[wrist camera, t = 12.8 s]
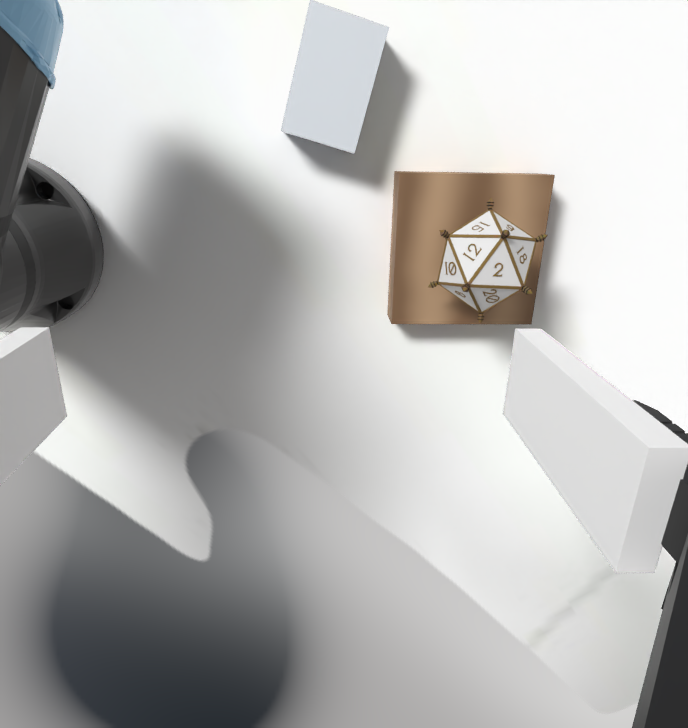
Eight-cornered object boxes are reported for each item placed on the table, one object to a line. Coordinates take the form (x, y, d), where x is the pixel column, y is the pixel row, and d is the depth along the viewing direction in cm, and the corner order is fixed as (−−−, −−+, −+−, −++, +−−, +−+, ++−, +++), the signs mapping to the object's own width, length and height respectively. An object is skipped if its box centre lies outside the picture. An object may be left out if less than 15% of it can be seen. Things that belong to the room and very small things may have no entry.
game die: (481, 249, 50) (566, 305, 44) (410, 296, 48) (488, 360, 42) (482, 165, 43) (583, 217, 37) (399, 215, 41) (490, 279, 35)
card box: (284, 132, 45) (280, 130, 41) (311, 13, 42) (310, -1, 38) (351, 153, 46) (354, 153, 42) (383, 38, 42) (389, 27, 39)
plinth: (387, 314, 51) (391, 323, 48) (394, 171, 46) (399, 172, 43) (519, 315, 51) (531, 324, 49) (540, 173, 47) (554, 175, 44)
